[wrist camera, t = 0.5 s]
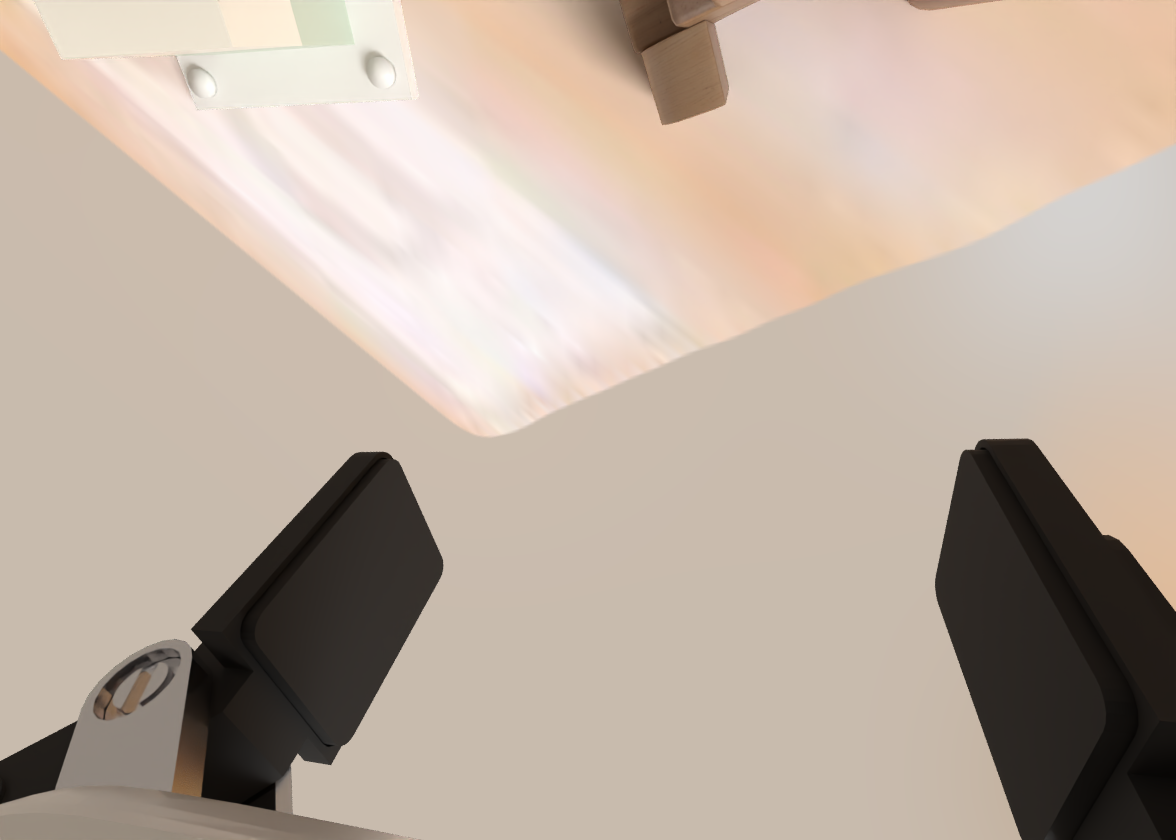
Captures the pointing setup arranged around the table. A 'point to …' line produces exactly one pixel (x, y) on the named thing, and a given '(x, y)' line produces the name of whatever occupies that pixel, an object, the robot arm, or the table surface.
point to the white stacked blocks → (250, 46)
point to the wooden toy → (695, 50)
